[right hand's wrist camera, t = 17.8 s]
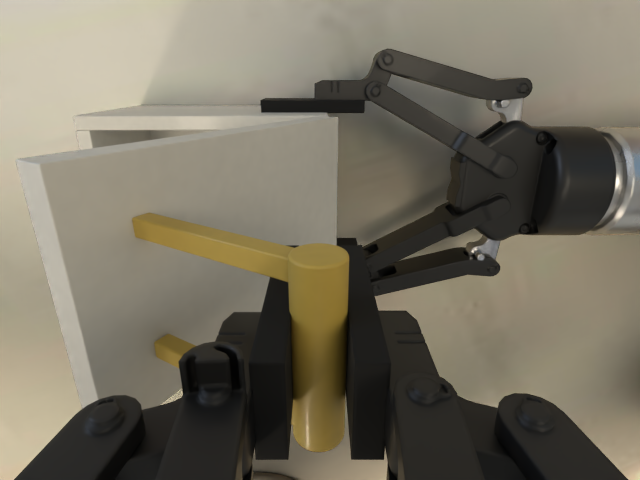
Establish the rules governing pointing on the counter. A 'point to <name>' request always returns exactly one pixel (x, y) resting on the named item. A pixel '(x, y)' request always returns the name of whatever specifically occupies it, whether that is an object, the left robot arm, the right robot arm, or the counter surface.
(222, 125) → the chest
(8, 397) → the counter surface
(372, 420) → the right robot arm
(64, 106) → the counter surface
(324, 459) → the counter surface
